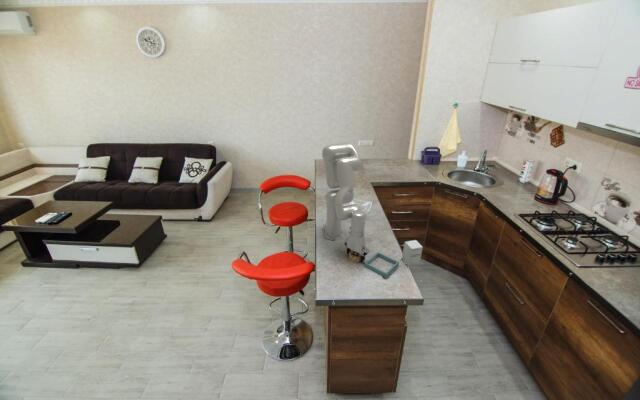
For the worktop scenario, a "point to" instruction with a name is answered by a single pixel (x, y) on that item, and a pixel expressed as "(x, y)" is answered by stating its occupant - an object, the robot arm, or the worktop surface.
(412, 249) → the supplement box
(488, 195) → the worktop surface
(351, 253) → the ring
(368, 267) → the tray
